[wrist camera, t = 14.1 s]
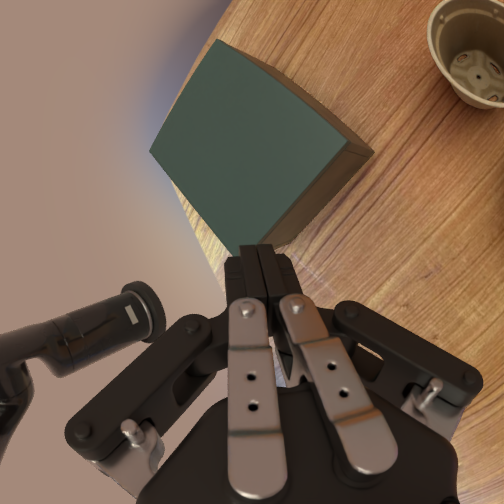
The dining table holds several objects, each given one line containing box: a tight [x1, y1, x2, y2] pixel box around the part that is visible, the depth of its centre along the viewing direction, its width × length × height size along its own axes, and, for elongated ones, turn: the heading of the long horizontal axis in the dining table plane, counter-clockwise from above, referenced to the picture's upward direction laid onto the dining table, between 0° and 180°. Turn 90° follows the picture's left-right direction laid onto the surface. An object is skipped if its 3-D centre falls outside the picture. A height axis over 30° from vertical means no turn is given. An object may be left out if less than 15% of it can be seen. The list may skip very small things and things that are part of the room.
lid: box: [149, 39, 350, 257], centre depth 26 cm, size 16×14×1 cm
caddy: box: [229, 45, 375, 250], centre depth 30 cm, size 15×14×9 cm
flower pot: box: [427, 0, 504, 109], centre depth 17 cm, size 9×9×9 cm
